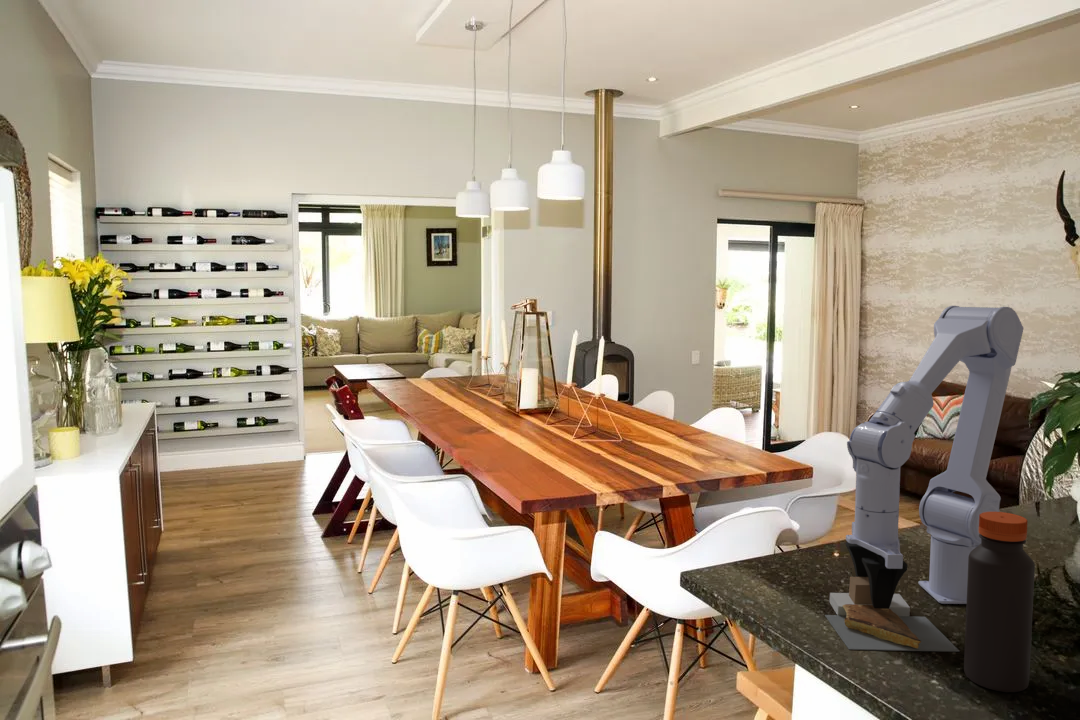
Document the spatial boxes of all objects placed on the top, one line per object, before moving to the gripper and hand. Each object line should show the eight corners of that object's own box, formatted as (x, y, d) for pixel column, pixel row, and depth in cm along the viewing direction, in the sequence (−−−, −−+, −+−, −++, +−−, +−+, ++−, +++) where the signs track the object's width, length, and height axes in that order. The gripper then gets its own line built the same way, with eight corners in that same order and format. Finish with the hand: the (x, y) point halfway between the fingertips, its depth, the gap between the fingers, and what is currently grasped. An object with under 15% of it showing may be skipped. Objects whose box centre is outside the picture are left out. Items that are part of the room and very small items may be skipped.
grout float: (898, 603, 115) (900, 574, 114) (909, 617, 111) (911, 588, 110) (829, 602, 116) (831, 574, 115) (837, 615, 112) (839, 587, 111)
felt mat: (925, 617, 111) (925, 616, 111) (959, 651, 101) (959, 650, 101) (824, 615, 112) (824, 614, 112) (849, 649, 102) (849, 648, 102)
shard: (920, 652, 100) (921, 638, 100) (860, 650, 101) (860, 637, 101) (889, 616, 111) (890, 604, 111) (835, 615, 112) (835, 603, 112)
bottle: (1000, 663, 97) (1008, 507, 96) (1042, 691, 91) (1051, 524, 89) (951, 668, 96) (957, 510, 95) (990, 696, 90) (997, 527, 88)
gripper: (832, 493, 118) (830, 579, 119) (865, 522, 103) (862, 620, 105) (880, 493, 117) (877, 580, 119) (920, 523, 103) (916, 621, 104)
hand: (873, 599), depth 112 cm, fingers open, 5 cm apart
